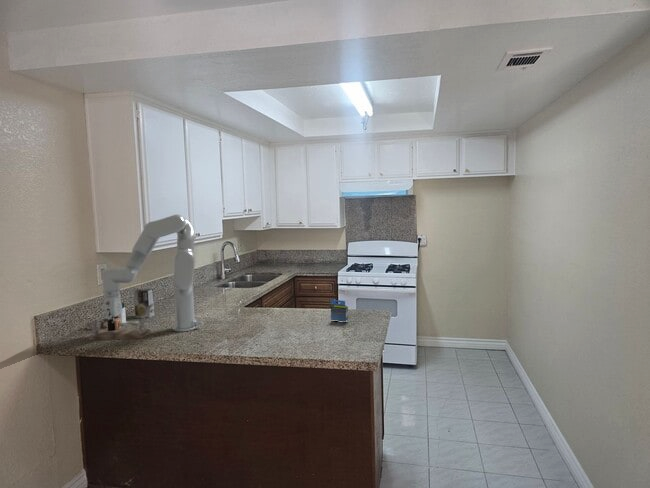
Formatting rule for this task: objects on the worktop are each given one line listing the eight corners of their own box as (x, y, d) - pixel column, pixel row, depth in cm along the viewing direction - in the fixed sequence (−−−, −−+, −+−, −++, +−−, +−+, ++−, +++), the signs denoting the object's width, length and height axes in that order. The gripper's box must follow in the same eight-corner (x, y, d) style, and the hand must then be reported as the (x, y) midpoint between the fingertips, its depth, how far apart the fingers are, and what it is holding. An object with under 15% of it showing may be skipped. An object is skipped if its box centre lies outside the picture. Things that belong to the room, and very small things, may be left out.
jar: (105, 325, 230) (103, 304, 229) (118, 322, 237) (117, 301, 236) (115, 327, 226) (114, 306, 225) (129, 324, 233) (127, 302, 232)
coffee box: (155, 315, 252) (153, 288, 250) (149, 318, 245) (148, 290, 244) (140, 315, 253) (139, 288, 251) (134, 317, 246) (133, 290, 245)
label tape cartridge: (348, 321, 229) (348, 299, 228) (345, 323, 226) (345, 300, 225) (333, 320, 233) (333, 298, 232) (330, 321, 229) (330, 299, 228)
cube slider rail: (149, 331, 217) (148, 315, 216) (142, 337, 207) (141, 321, 206) (94, 333, 215) (93, 317, 215) (84, 340, 205) (83, 323, 205)
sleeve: (121, 327, 213) (120, 317, 213) (117, 330, 208) (116, 320, 208) (111, 327, 213) (110, 318, 213) (106, 330, 208) (106, 320, 208)
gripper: (112, 296, 201) (114, 333, 203) (126, 289, 218) (128, 324, 219) (96, 297, 200) (98, 334, 202) (111, 290, 217) (113, 324, 219)
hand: (114, 328), depth 211 cm, fingers closed on sleeve, 5 cm apart
